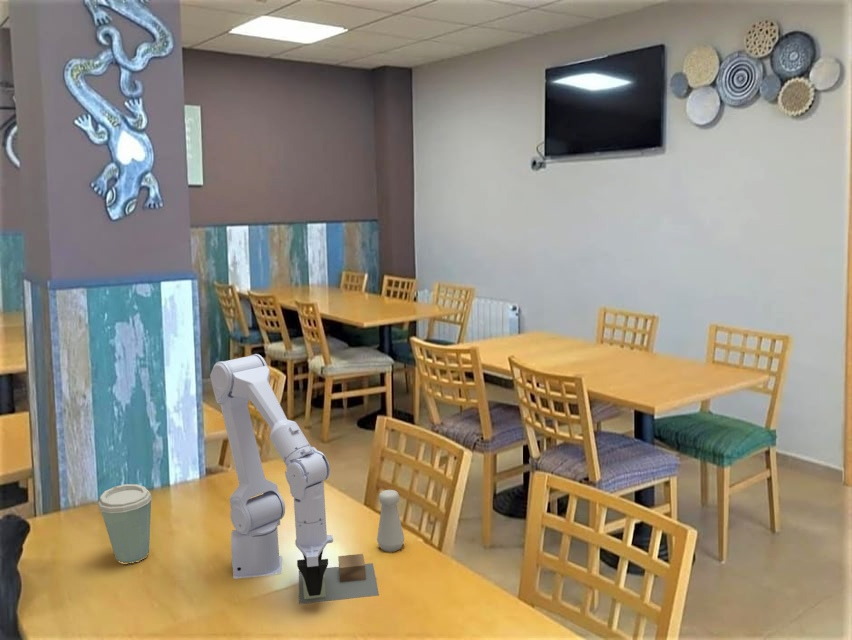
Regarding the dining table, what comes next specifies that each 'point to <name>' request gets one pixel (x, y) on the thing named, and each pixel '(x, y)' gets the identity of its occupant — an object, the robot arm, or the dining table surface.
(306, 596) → the sage block
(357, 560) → the walnut block
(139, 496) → the disposable coffee cup
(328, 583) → the slate mat
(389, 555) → the dining table surface
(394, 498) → the salt shaker
